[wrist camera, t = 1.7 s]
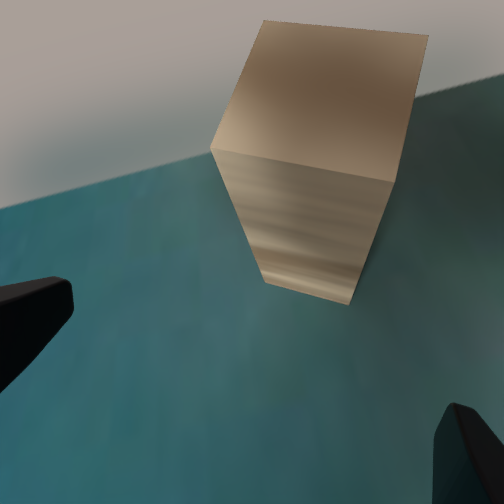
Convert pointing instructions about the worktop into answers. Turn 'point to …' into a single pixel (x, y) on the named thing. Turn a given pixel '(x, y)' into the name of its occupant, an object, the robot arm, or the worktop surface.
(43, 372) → the worktop surface
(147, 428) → the worktop surface
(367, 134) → the maple block
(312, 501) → the worktop surface
